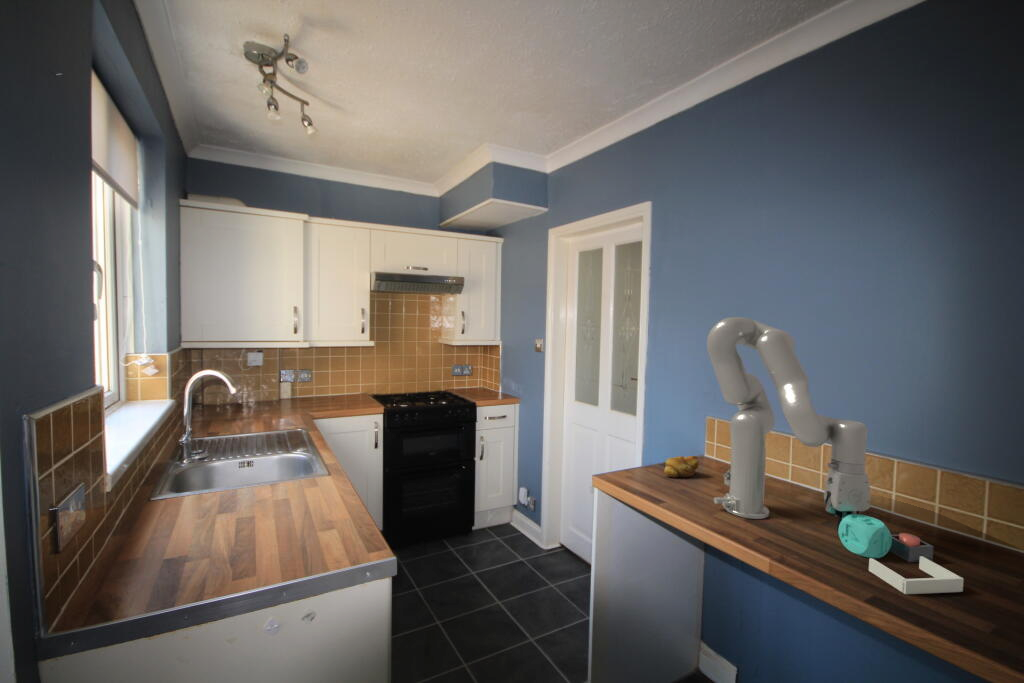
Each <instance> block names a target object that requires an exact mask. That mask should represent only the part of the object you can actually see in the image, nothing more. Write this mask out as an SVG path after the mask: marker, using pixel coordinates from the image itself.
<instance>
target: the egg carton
mask: <svg viewBox="0 0 1024 683" xmlns="http://www.w3.org/2000/svg"><path fill="white" fill-rule="evenodd" d="M722 474H723V473H722ZM722 476H723V479H724V482H723V484H724V485H726V486H728V487H730V468H729V469H728V470H726V471H725V473H724V474H723V475H722Z"/></svg>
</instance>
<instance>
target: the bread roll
mask: <svg viewBox="0 0 1024 683" xmlns="http://www.w3.org/2000/svg"><path fill="white" fill-rule="evenodd" d="M699 466H700V461H699V458H698V457H697V456H696V455H688V456H676V457H675V456H674V457H669V458H668V459H666V461H665V467H664V471H663V473H664V474H665V476H666V477H669V478H674V479H675V478H676V479H677V478H679V477H681V478H691V477H693V476H694V475H695V471H696V470H697V469H698V468H699Z"/></svg>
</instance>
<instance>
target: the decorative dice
mask: <svg viewBox="0 0 1024 683" xmlns="http://www.w3.org/2000/svg"><path fill="white" fill-rule="evenodd" d="M837 531H838V533H837V534H838V537H839V540H840V541H841V543H842V545H843V546H844V547H845V549H847V551H850V553H853V554H856V555H858V556H861V557H864V558H873V559H880V558H883V557H884V556H885V555H887V554H888V553H889V552H890V551H889V549H890V547H891V543H892V537H891V535H892V534H891V531H890V530H889V528H888V527H887V525H886V524H885V523H884V522H883V521H882V520H880V519H878V518H875V517H873V516H869V515H866V514H861V513H858V514H850V515H847V516H846V517H844V518H843V519H842V521H841V523H840V525H839V529H838V530H837Z"/></svg>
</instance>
